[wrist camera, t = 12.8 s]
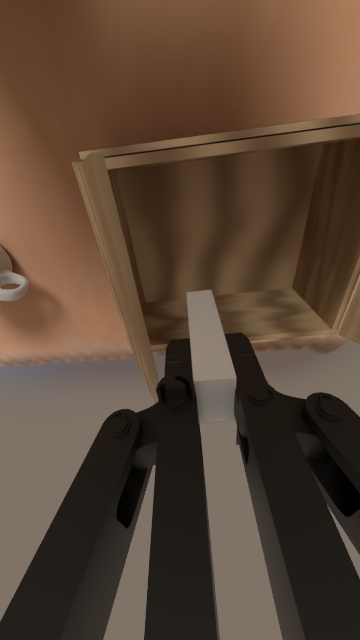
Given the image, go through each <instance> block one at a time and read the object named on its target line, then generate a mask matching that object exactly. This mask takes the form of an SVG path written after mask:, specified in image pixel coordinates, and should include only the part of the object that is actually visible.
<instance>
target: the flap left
mask: <svg viewBox="0 0 360 640" xmlns="http://www.w3.org/2000/svg"><path fill="white" fill-rule="evenodd" d="M75 170H76V173H77V176H78V179H79V182H80V186H81V189H82V192H83V195H84V198H85V202H86V205H87V208H88V211H89V214H90V217H91V221H92V224H93V227H94V230H95V233H96V236H97V240H98V243H99V246H100V249H101V252H102V256H103V259H104V262H105V265H106V268H107V271H108V275H109V278H110V281H111V284H112V287H113V291H114V294H115V297H116V300H117V303H118V306H119V310H120V313H121V316H122V319H123V322H124V325H125V329H126V332H127V335H128V338H129V341H130V345H131V348H132V351H133V354H134V356H135V358H136V360H137V362H138V365H139V367H140V369H141V371H142V374H143V376H144V378H145V380H146V383H147V385H148V387H149V389H150V392H151V394H152V396H153V398H154V401H155V403H157V402H158V401H159V400H158V396H157V393H156V388H157V384H158V383H159V379H158V375H157V370H156V367H155V362H154V358H153V354H152V350H151V346H150V342H149V338H148V334H147V330H146V326H145V322H144V317H143V313H142V309H141V305H140V301H139V297H138V293H137V289H136V285H135V281H134V277H133V273H132V268H131V264H130V260H129V256H128V252H127V248H126V244H125V240H124V236H123V232H122V228H121V224H120V220H119V215H118V211H117V207H116V203H115V199H114V195H113V191H112V187H111V183H110V179H109V175H108V171H107V166H106V162H105V158H104V154H103V152H97V153H90V154H89V155H88V156H87V157H86V158H85V159H84V160H83V161H82V162H80V163H79V164H78V165H77V166H76V167H75Z"/></svg>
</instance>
